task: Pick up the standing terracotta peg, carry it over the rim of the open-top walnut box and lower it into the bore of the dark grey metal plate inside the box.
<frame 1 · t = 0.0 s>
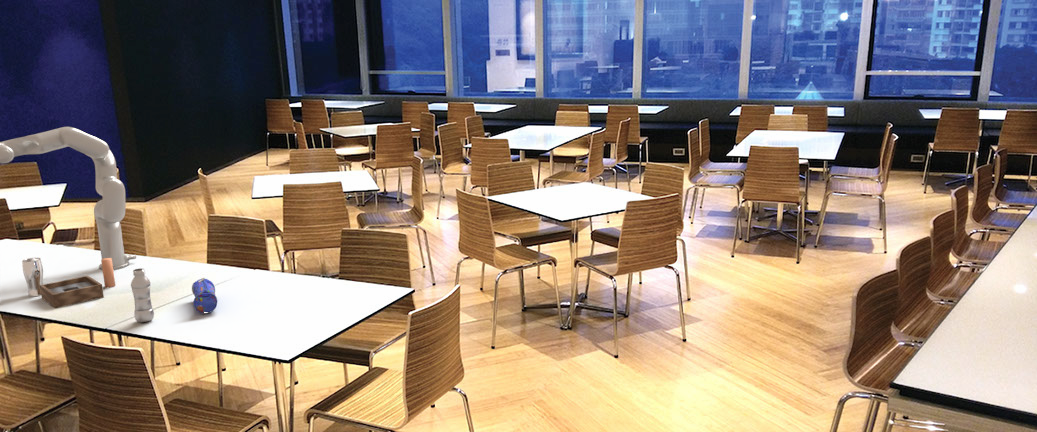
bore box: (72, 297, 320), on the table
pencil case: (205, 306, 308), on the table
beer glass: (36, 294, 325), on the table
peg: (110, 286, 335), on the table
plastic bottle: (145, 321, 292), on the table
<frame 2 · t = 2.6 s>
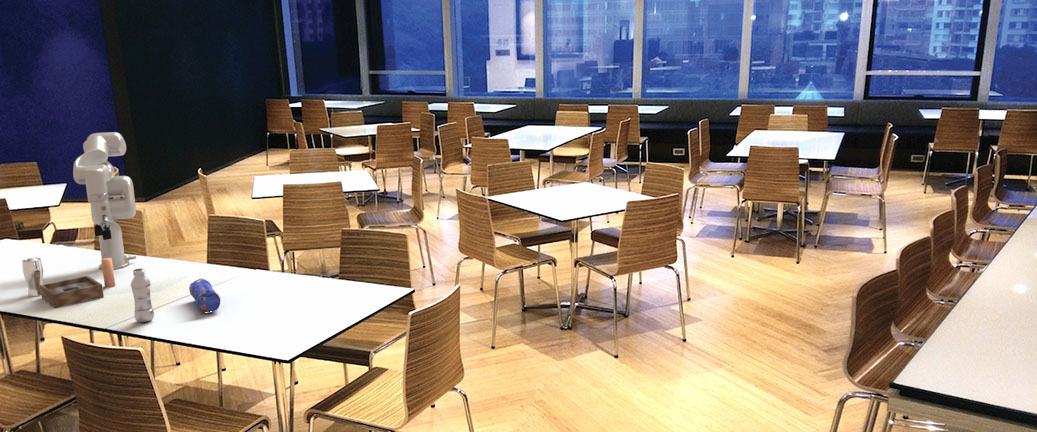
hand: (103, 237, 330), 22 cm above the table, tool pointing down, fingers open, 9 cm apart
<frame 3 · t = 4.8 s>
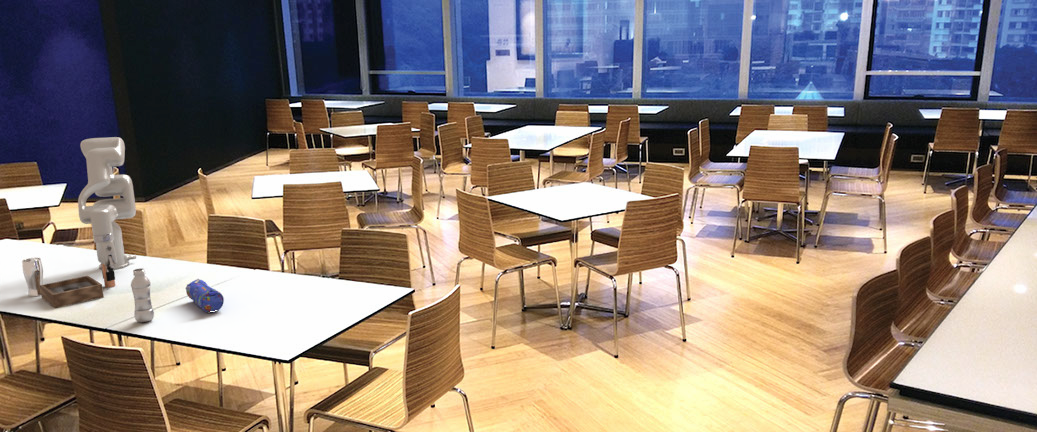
hand: (109, 278, 334), 3 cm above the table, tool pointing down, fingers closed on peg, 4 cm apart
peg: (110, 286, 335), on the table, touching gripper
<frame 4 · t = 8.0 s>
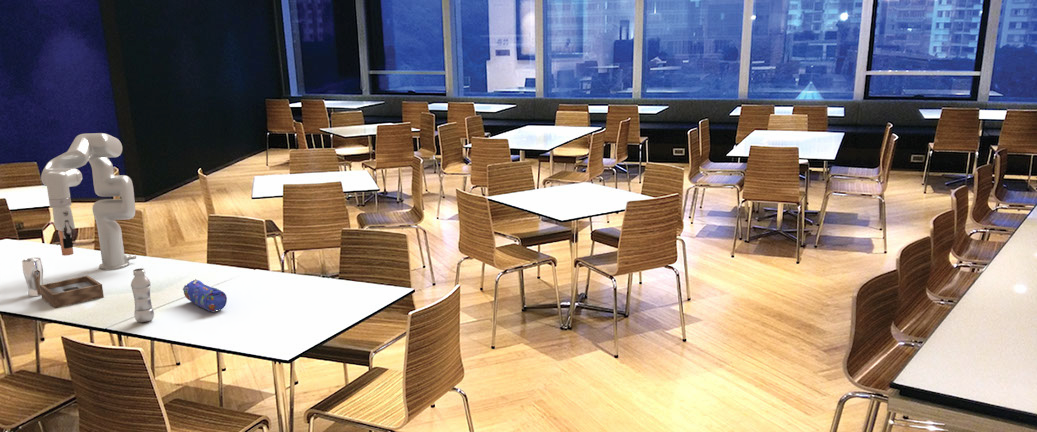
hand: (66, 246, 316), 22 cm above the table, tool pointing down, fingers closed on peg, 4 cm apart
peg: (67, 254, 316), point 18 cm above the table, touching gripper
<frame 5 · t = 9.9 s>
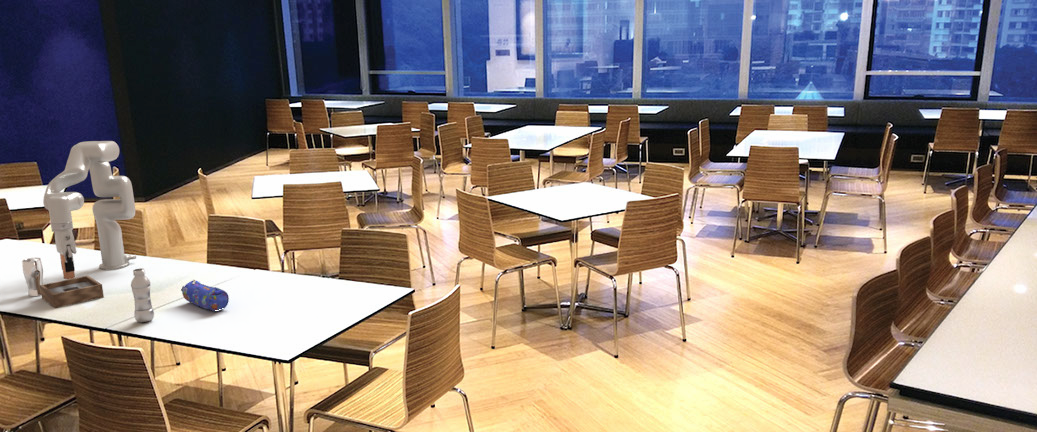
hand: (68, 269, 317), 12 cm above the table, tool pointing down, fingers closed on peg, 4 cm apart
peg: (69, 277, 318), point 9 cm above the table, touching gripper
when the fingers open (5 cm above the table, at t = 11.5 s): peg stays where it is, resting on bore box.
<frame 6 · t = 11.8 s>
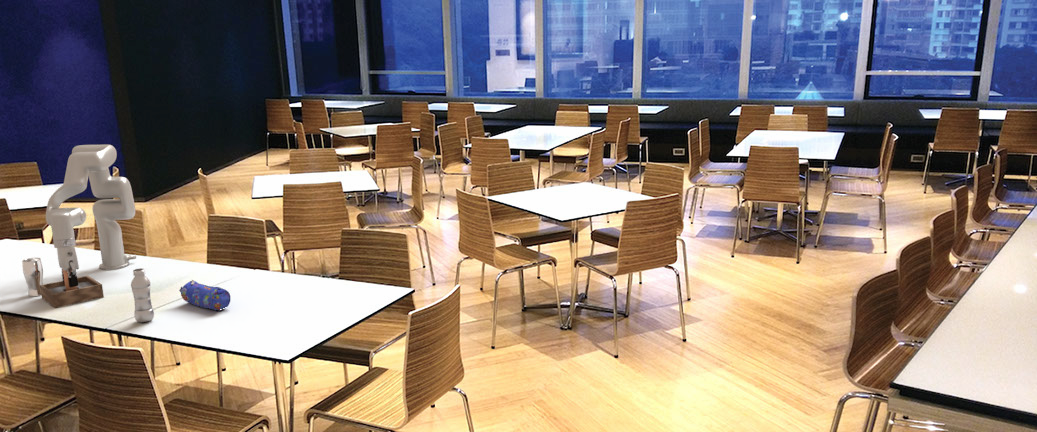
hand: (70, 284, 319), 6 cm above the table, tool pointing down, fingers open, 7 cm apart
peg: (72, 295, 320), point 1 cm above the table, touching bore box
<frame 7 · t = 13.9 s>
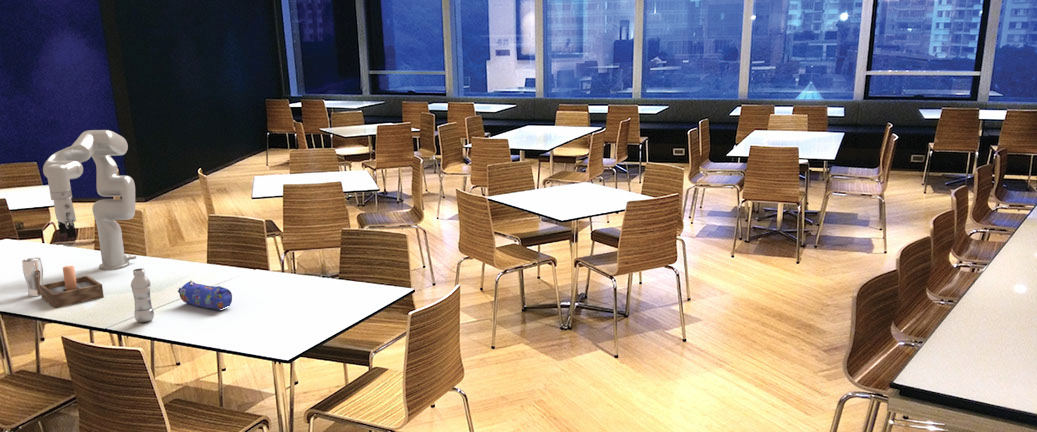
hand: (67, 235, 322), 25 cm above the table, tool pointing down, fingers open, 9 cm apart
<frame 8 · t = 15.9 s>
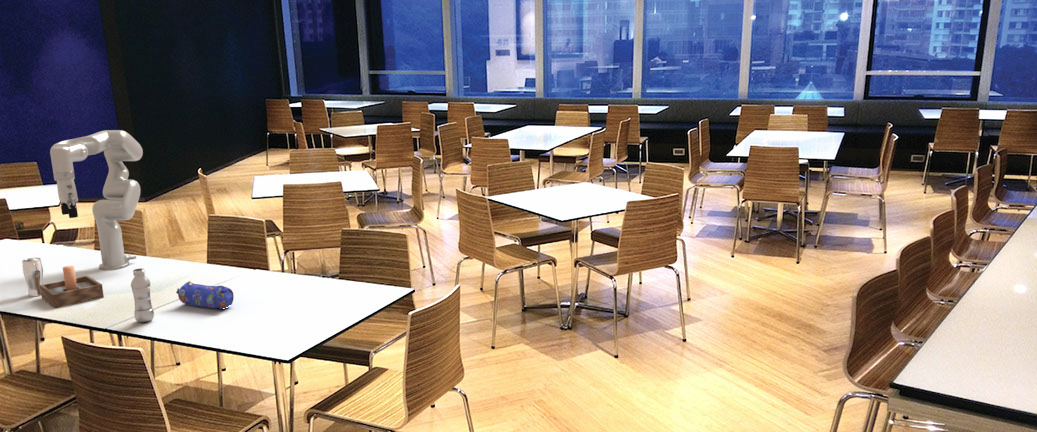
hand: (70, 215, 331), 30 cm above the table, tool pointing down, fingers open, 9 cm apart
at the end: peg 0.0 cm from the bore box (horizontally); peg point 1.0 cm above the table; peg tilted 0° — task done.
